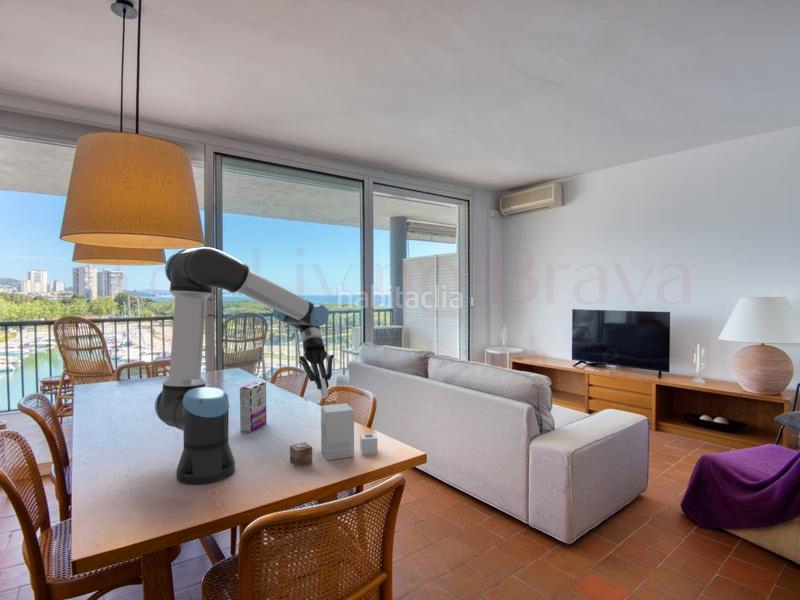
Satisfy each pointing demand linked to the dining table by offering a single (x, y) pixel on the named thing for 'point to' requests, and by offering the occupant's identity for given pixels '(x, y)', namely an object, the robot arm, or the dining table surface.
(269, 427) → the dining table surface
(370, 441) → the pale grey block
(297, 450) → the walnut block
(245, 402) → the candy bar box
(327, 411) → the supplement box
